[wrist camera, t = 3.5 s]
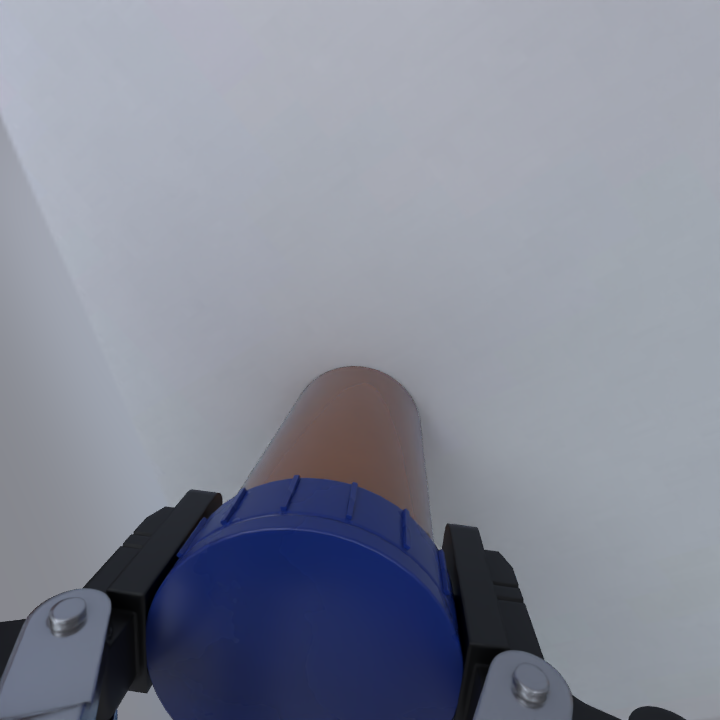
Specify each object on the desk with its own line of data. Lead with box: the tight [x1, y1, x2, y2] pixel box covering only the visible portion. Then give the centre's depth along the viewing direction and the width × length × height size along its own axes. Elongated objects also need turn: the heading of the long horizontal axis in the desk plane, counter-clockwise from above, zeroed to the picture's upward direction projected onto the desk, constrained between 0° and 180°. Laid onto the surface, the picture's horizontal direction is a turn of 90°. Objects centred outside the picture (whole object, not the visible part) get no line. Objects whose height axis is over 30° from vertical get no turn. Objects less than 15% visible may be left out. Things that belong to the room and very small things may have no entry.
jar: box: [238, 366, 434, 542], centre depth 14 cm, size 5×5×10 cm
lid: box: [146, 475, 464, 720], centre depth 9 cm, size 6×6×2 cm
